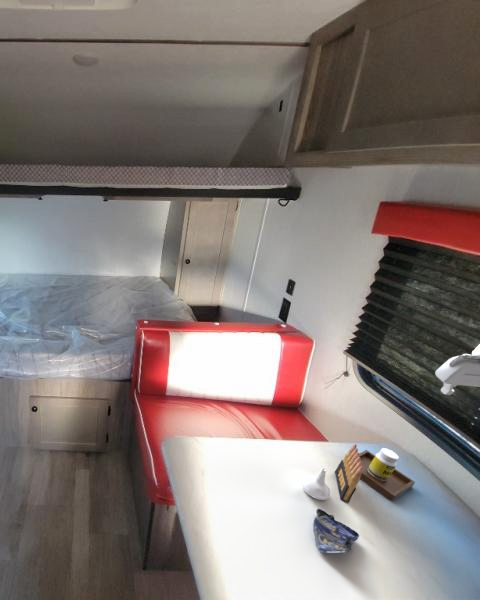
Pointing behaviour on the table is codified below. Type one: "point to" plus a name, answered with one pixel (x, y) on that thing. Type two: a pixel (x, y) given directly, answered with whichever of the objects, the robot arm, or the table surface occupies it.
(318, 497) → the white funnel
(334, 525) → the snack package
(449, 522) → the table surface
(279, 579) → the table surface
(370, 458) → the tray
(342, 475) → the ammunition clip
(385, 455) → the supplement bottle
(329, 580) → the table surface
